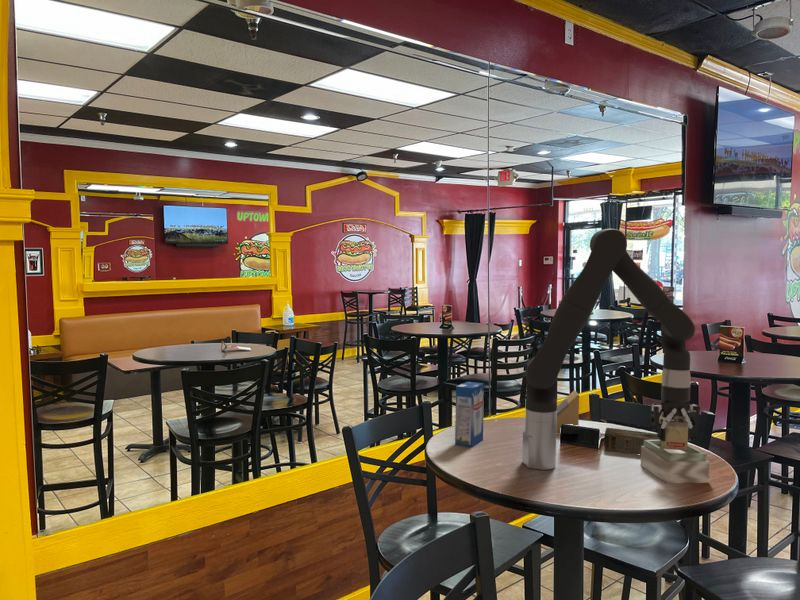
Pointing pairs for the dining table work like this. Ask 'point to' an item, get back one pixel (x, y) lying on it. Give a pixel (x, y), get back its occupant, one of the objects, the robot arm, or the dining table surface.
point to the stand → (675, 463)
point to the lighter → (676, 434)
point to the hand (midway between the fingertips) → (674, 440)
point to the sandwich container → (568, 411)
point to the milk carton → (469, 414)
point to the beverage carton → (626, 440)
